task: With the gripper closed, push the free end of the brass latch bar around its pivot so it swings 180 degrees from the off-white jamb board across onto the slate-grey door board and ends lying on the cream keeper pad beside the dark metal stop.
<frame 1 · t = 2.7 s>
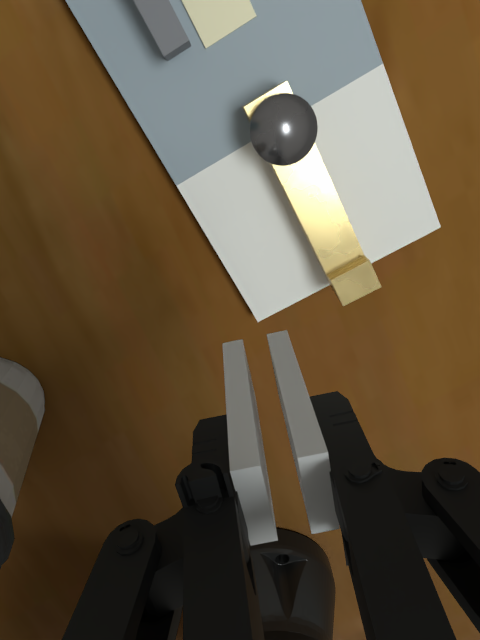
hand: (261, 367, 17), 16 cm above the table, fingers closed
latch bar: (314, 200, 27), point 4 cm above the table, hinge at 0.0°
coffee cup: (0, 393, 37), on the table
door fixture: (272, 125, 29), on the table
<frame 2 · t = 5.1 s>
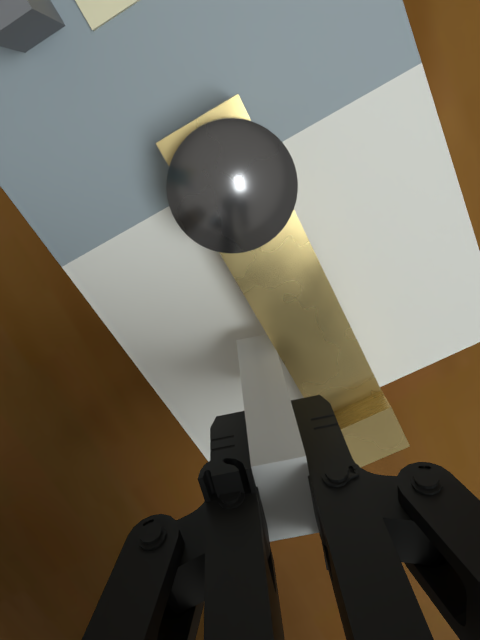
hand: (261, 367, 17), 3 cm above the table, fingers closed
latch bar: (294, 302, 16), point 4 cm above the table, hinge at 0.1°, touching gripper
door fixture: (227, 166, 17), on the table
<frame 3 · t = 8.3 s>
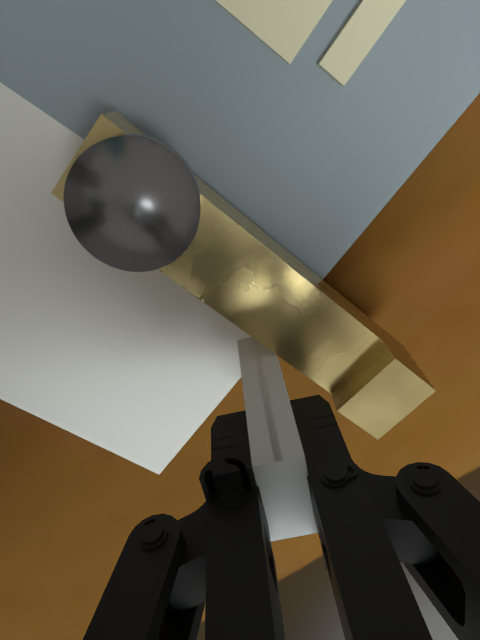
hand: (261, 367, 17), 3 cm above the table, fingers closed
latch bar: (256, 287, 15), point 4 cm above the table, hinge at 86.1°, touching gripper
door fixture: (156, 176, 17), on the table
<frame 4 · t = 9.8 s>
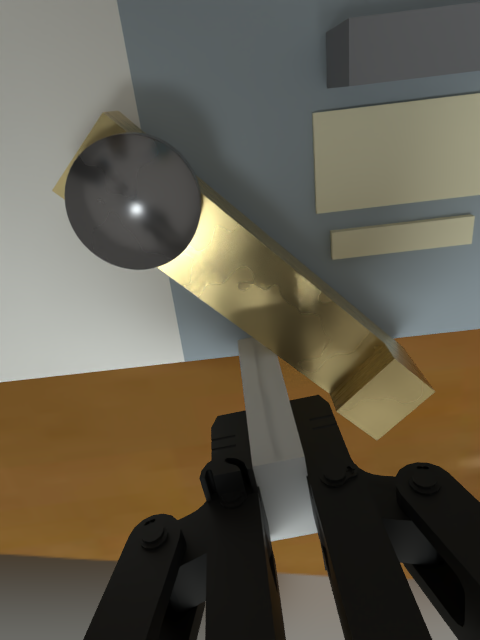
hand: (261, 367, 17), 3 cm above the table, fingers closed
latch bar: (256, 286, 15), point 4 cm above the table, hinge at 133.9°, touching gripper
door fixture: (157, 176, 17), on the table
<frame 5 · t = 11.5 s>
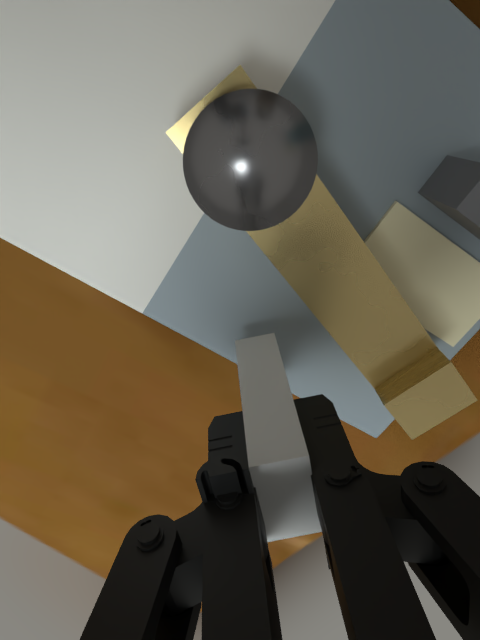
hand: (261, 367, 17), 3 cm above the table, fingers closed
latch bar: (332, 271, 15), point 4 cm above the table, hinge at 162.0°
door fixture: (239, 147, 17), on the table
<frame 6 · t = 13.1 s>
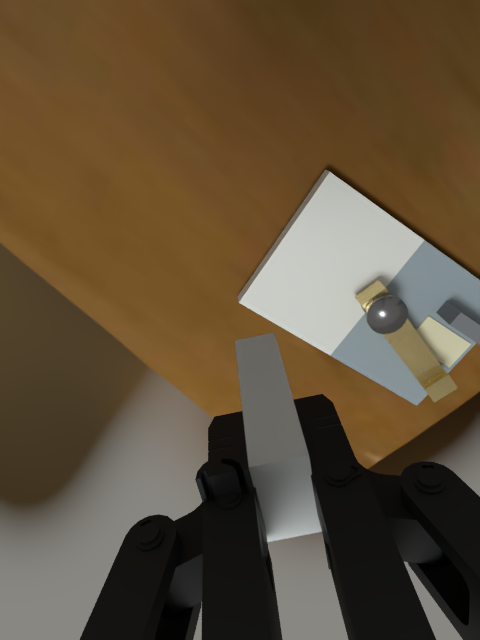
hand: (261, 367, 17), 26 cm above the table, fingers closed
latch bar: (407, 343, 43), point 4 cm above the table, hinge at 162.0°
door fixture: (369, 294, 45), on the table
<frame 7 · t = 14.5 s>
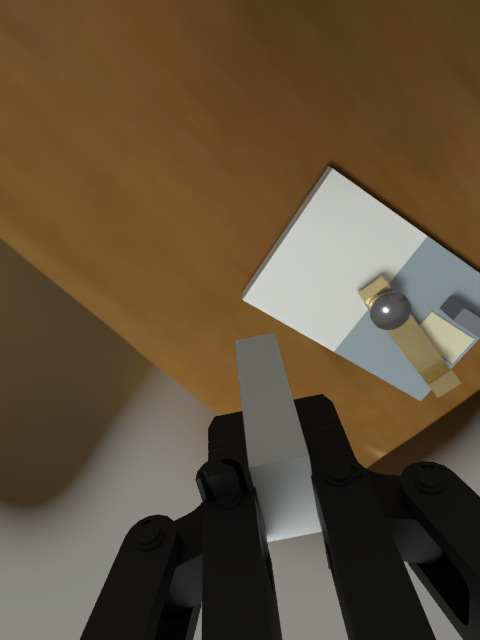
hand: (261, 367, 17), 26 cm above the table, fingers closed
latch bar: (410, 338, 44), point 4 cm above the table, hinge at 162.0°
door fixture: (372, 290, 45), on the table
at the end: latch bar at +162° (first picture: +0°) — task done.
